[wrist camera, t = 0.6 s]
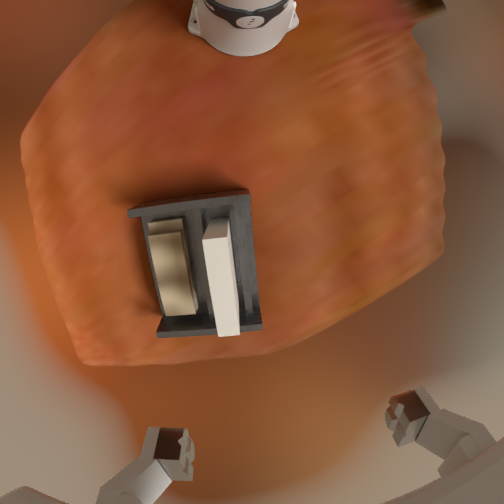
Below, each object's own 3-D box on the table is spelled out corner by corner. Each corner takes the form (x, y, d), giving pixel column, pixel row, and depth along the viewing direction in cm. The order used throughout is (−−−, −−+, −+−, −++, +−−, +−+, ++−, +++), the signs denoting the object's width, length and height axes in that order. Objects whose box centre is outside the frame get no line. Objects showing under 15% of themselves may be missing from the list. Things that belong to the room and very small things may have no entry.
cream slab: (210, 219, 45) (202, 239, 34) (229, 217, 45) (227, 237, 34) (221, 297, 50) (218, 336, 38) (238, 295, 50) (239, 334, 38)
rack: (141, 202, 45) (127, 210, 38) (248, 189, 45) (250, 194, 39) (165, 317, 52) (157, 337, 45) (259, 309, 52) (262, 329, 46)
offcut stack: (151, 220, 45) (144, 226, 41) (183, 216, 45) (179, 221, 41) (169, 306, 50) (164, 318, 46) (199, 304, 50) (196, 316, 46)
